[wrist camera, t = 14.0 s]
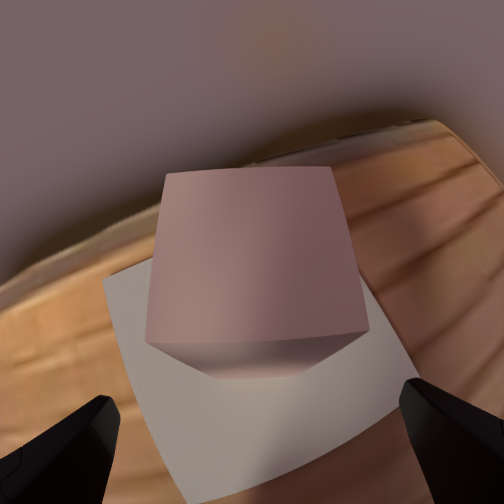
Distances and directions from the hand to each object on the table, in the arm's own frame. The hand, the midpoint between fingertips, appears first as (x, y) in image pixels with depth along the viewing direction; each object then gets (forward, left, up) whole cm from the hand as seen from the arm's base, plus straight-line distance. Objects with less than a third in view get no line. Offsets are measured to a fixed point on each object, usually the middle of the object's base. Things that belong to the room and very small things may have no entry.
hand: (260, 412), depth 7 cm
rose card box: (+4, +1, -10) cm, 11 cm away
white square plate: (+4, +1, -11) cm, 12 cm away
